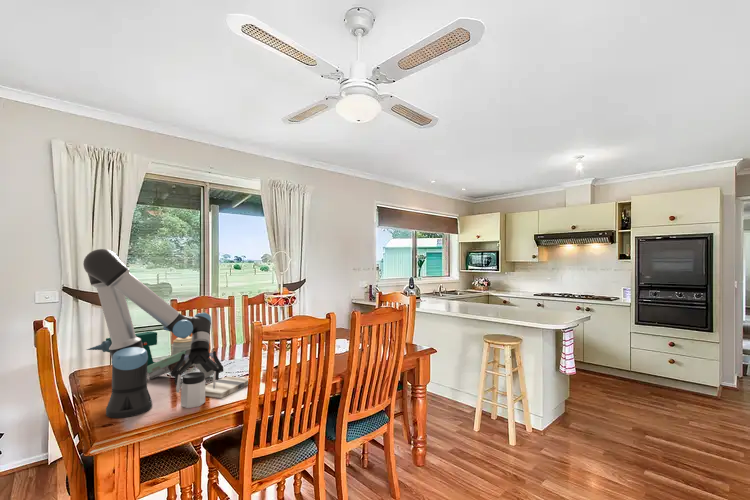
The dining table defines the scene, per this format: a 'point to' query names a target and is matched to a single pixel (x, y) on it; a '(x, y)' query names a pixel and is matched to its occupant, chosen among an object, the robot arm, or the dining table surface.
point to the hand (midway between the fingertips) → (196, 389)
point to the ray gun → (171, 362)
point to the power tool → (146, 337)
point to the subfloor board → (225, 386)
